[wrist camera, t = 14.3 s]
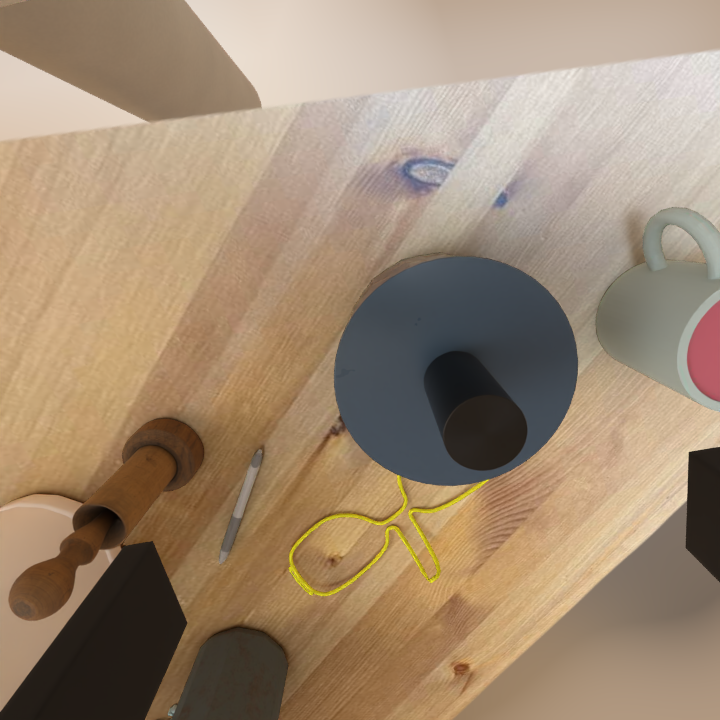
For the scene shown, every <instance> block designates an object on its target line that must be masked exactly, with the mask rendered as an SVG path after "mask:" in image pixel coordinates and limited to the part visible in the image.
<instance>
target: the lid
mask: <svg viewBox="0 0 720 720" xmlns="http://www.w3.org/2000/svg"><path fill="white" fill-rule="evenodd" d="M577 374H578V357H577V348H576V342H575V338H574V335H573V331H572V328H571V326H570V324H569V321H568V319H567V317H566V315H565V313H564V311H563V310H562V308H561V307H560V305H559V303H558V302H557V301H556V300H555V298H554V297H553V296H552V295H551V294H550V293H549V291H548V290H547V289H546V288H544V287H543V286H542V285H541V284H540V283H539V282H538V281H536V280H535V279H534V278H532V277H531V276H529V275H527V274H526V273H524V272H523V271H521V270H519V269H517V268H514V267H512V266H510V265H508V264H505V263H502V262H498V261H495V260H491V259H488V258H481V257H474V256H449V257H441V258H435V259H432V260H428V261H424V262H420V263H418V264H415V265H413V266H410V267H408V268H405V269H403V270H402V271H400V272H398V273H396V274H395V275H393V276H391V277H389V278H388V279H387V280H385V281H384V282H383V283H381V284H380V285H379V286H377V287H376V288H375V289H374V290H373V291H372V292H371V293H370V294H369V295H368V296H367V297H366V298H365V299H364V300H363V301H362V303H361V304H360V305H359V307H358V308H357V309H356V310H355V312H354V313H353V315H352V317H351V318H350V320H349V322H348V324H347V325H346V328H345V330H344V332H343V335H342V337H341V339H340V343H339V347H338V350H337V354H336V360H335V368H334V388H335V395H336V401H337V405H338V408H339V411H340V415H341V417H342V419H343V421H344V423H345V426H346V428H347V429H348V431H349V432H350V434H351V436H352V437H353V439H354V440H355V441H356V443H357V444H358V445H359V446H360V447H361V449H362V450H363V451H364V452H365V453H366V454H368V455H369V456H370V457H371V458H372V459H373V460H374V461H376V462H377V463H379V464H380V465H381V466H383V467H384V468H386V469H388V470H389V471H391V472H393V473H395V474H397V475H399V476H402V477H405V478H407V479H410V480H413V481H417V482H421V483H425V484H432V485H443V486H456V485H466V484H472V483H477V482H482V481H485V480H488V479H491V478H494V477H497V476H500V475H502V474H504V473H506V472H508V471H511V470H512V469H514V468H516V467H517V466H519V465H521V464H522V463H524V462H525V461H527V460H528V459H529V458H530V457H532V456H533V455H534V454H536V453H537V452H538V451H539V450H540V449H541V448H542V447H543V446H544V445H545V444H546V443H547V442H548V440H549V439H550V438H551V437H552V435H553V434H554V433H555V432H556V430H557V429H558V427H559V426H560V424H561V422H562V421H563V419H564V417H565V415H566V413H567V411H568V409H569V406H570V404H571V401H572V398H573V395H574V391H575V387H576V381H577Z"/></svg>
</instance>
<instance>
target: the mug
mask: <svg viewBox="0 0 720 720" xmlns="http://www.w3.org/2000/svg"><path fill="white" fill-rule="evenodd" d="M667 225H676V226H678V227H680V228H682V229H684V230H685V231H686V232H688V233H689V234H690V235H691V236H692V237H693V239H694V240H695V241H696V242H697V243H698V245H699V247H700V249H701V250H702V252H703V255H704V257H705V260H706V263H697V262H687V261H677V260H665V257H664V254H663V251H662V245H661V236H662V232H663V229H664V228H665V227H666V226H667ZM643 252H644V257H645V260H646V262H645V263H642V264H639V265H637V266H635V267H633V268H631V269H629V270H628V271H626V272H625V273H623V274H622V275H621V276H620V277H618V278H617V279H616V280H615V281H614V282H613V283H612V285H611V286H610V287H609V288H608V290H607V291H606V293H605V294H604V296H603V298H602V300H601V302H600V305H599V308H598V311H597V316H596V331H597V336H598V339H599V341H600V343H601V345H602V347H603V348H604V350H605V351H606V352H607V353H608V354H609V355H610V356H611V357H612V358H614V359H615V360H617V361H619V362H621V363H622V364H624V365H626V366H628V367H630V368H632V369H634V370H636V371H638V372H640V373H642V374H643V375H645V376H647V377H649V378H651V379H653V380H655V381H657V382H659V383H661V384H663V385H664V386H666V387H668V388H670V389H672V390H674V391H676V392H678V393H680V394H682V395H683V396H685V397H687V398H689V399H691V400H693V401H695V402H697V403H699V404H701V405H703V406H704V407H707V408H709V409H711V410H715V411H718V412H720V232H719V231H718V230H717V229H716V228H715V227H714V225H713V224H712V223H711V222H710V221H709V220H707V219H706V218H705V217H703V216H702V215H700V214H699V213H697V212H695V211H692V210H690V209H687V208H679V207H672V208H668V209H664V210H661V211H659V212H658V213H657V214H655V215H654V216H653V217H651V218H650V220H649V222H648V223H647V225H646V226H645V229H644V233H643Z"/></svg>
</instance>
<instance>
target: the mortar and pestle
mask: <svg viewBox="0 0 720 720" xmlns="http://www.w3.org/2000/svg"><path fill="white" fill-rule="evenodd" d="M203 455H204V451H203V446H202V443H201V441H200V439H199V437H198V436H197V434H196V433H195V432H194V431H193V430H192V429H191V428H190V427H188V426H187V425H185V424H184V423H181V422H179V421H176V420H172V419H156V420H153V421H150V422H148V423H146V424H145V425H143V426H142V427H141V428H140V429H138V430H137V431H136V432H135V433H134V434H133V435H132V436H131V437H130V438H129V439H128V441H127V442H126V444H125V446H124V448H123V453H122V459H123V465H122V466H121V467H120V469H119V470H118V471H117V472H116V473H115V474H114V475H113V476H111V477H110V478H109V479H108V480H107V481H106V482H105V483H104V484H103V485H102V486H101V487H100V488H99V489H98V490H97V491H96V492H95V493H94V494H93V495H92V496H91V497H90V498H89V499H88V500H87V501H86V502H85V503H84V504H83V505H81V506H80V507H79V508H78V509H77V511H76V512H75V513H74V515H73V519H72V524H73V529H74V531H75V532H73V533H72V534H70V535H69V536H68V537H66V538H65V539H64V540H63V541H62V542H61V544H60V553H59V555H58V556H57V557H55V558H52V559H49V560H46V561H43V562H40V563H37V564H35V565H33V566H31V567H29V568H28V569H26V570H25V571H24V572H23V573H22V574H21V575H20V576H19V577H18V578H17V579H16V580H15V582H14V583H13V585H12V587H11V589H10V592H9V598H8V601H9V606H10V609H11V610H12V612H13V613H14V614H15V615H16V616H17V617H19V618H21V619H23V620H27V621H37V620H41V619H44V618H47V617H49V616H51V615H53V614H54V613H56V612H57V611H58V610H60V609H61V608H62V607H63V606H64V605H65V604H66V602H67V601H68V600H69V598H70V596H71V594H72V591H73V588H74V582H75V574H76V570H77V568H78V566H83V565H87V564H89V563H91V562H92V561H93V560H94V559H95V557H96V555H97V554H98V552H99V550H109V549H113V548H116V547H118V546H119V545H121V544H122V543H123V541H124V540H125V539H126V538H127V536H128V535H129V534H130V532H131V531H132V530H133V529H134V527H135V526H136V525H137V523H138V522H139V521H140V520H141V518H142V517H143V516H144V514H145V513H146V512H147V511H148V509H149V508H150V507H151V505H152V504H153V503H154V501H155V500H156V499H157V498H158V496H159V495H160V494H161V492H162V491H173V490H176V489H179V488H181V487H183V486H184V485H185V484H187V483H188V482H189V481H190V479H191V478H192V477H193V475H194V474H195V473H196V471H197V470H198V469H199V467H200V465H201V463H202V460H203Z"/></svg>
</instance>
